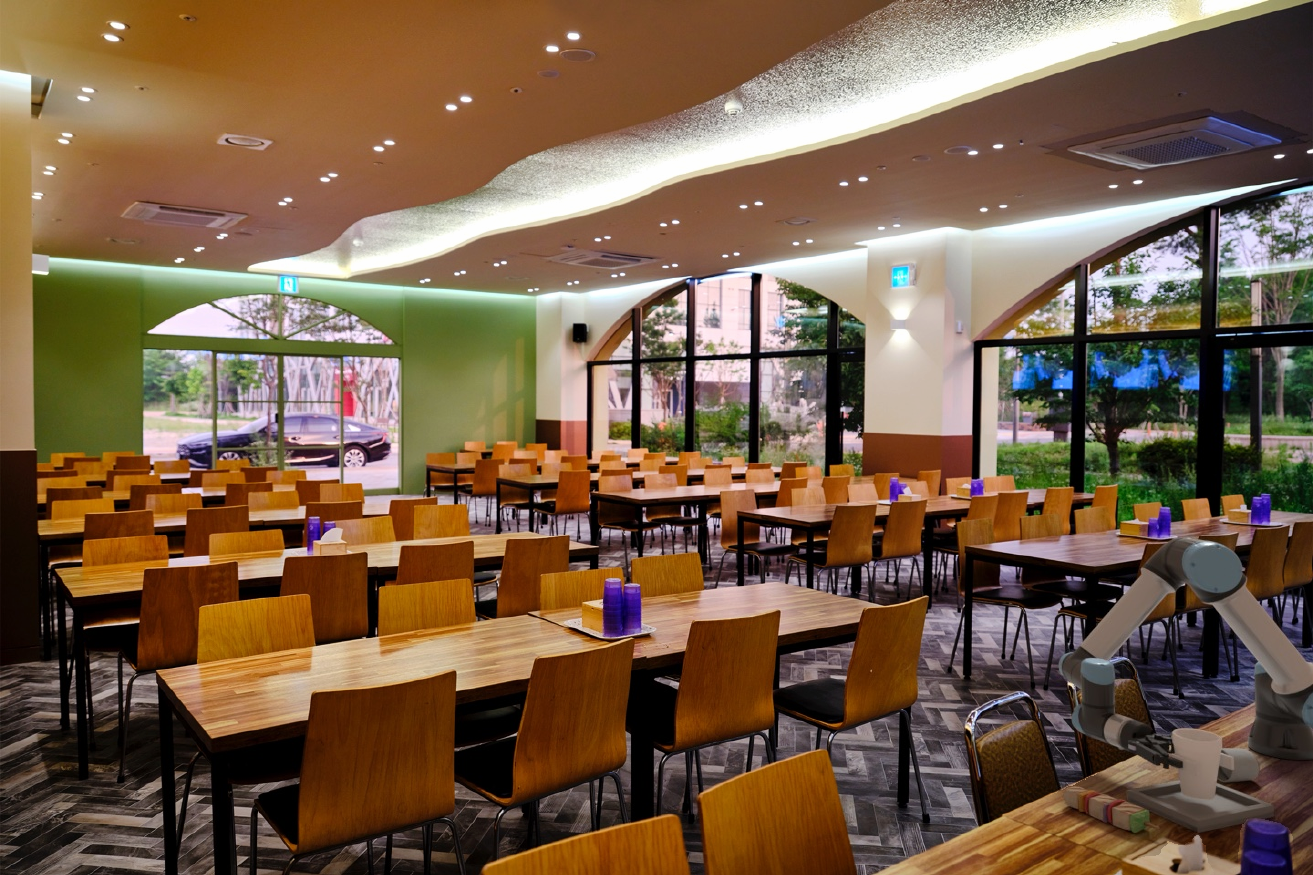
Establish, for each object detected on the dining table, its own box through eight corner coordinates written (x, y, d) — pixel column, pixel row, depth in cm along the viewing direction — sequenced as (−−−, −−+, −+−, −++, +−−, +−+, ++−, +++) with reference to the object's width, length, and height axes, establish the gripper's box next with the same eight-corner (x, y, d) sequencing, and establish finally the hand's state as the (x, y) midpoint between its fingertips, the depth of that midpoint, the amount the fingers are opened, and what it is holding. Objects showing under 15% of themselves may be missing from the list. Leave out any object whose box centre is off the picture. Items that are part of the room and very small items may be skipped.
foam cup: (1222, 790, 202) (1221, 732, 202) (1223, 805, 194) (1222, 744, 194) (1173, 782, 206) (1172, 725, 206) (1172, 797, 198) (1171, 737, 198)
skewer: (1060, 808, 202) (1060, 785, 202) (1079, 802, 205) (1079, 780, 205) (1149, 843, 184) (1148, 819, 184) (1168, 836, 187) (1168, 812, 187)
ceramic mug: (1263, 784, 213) (1262, 751, 213) (1233, 787, 211) (1231, 754, 212) (1227, 769, 223) (1226, 737, 224) (1198, 771, 222) (1197, 740, 222)
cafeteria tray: (1199, 786, 212) (1199, 776, 212) (1274, 816, 195) (1273, 804, 195) (1126, 800, 205) (1126, 789, 205) (1197, 832, 188) (1197, 820, 188)
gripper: (1165, 745, 221) (1253, 776, 199) (1094, 756, 213) (1177, 791, 192) (1165, 714, 221) (1252, 742, 199) (1093, 724, 213) (1176, 755, 192)
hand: (1215, 766), depth 196 cm, fingers closed on foam cup, 9 cm apart
